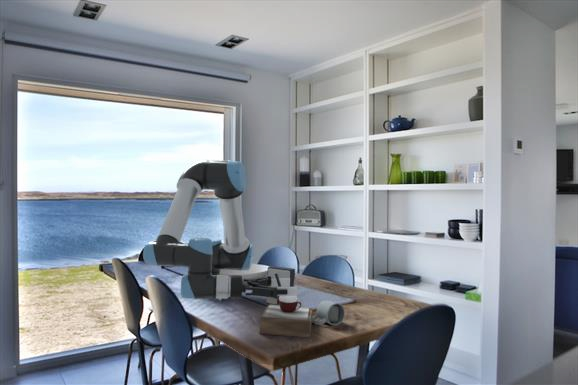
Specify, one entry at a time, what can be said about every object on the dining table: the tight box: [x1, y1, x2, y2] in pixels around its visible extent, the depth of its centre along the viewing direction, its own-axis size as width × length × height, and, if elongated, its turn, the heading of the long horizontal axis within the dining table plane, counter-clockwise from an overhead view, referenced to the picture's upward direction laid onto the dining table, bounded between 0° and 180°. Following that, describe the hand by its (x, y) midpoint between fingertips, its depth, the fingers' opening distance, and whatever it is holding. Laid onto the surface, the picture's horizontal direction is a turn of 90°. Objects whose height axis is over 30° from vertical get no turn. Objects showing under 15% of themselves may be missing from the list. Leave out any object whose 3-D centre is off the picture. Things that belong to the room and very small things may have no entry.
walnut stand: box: [259, 304, 313, 338], centre depth 138 cm, size 16×16×6 cm
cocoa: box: [275, 273, 302, 312], centre depth 139 cm, size 10×6×12 cm, turn 48°
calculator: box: [266, 265, 296, 305], centre depth 168 cm, size 11×4×15 cm, turn 62°
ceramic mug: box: [312, 300, 346, 326], centre depth 145 cm, size 11×8×8 cm
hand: (293, 286), depth 139 cm, fingers open, 13 cm apart
